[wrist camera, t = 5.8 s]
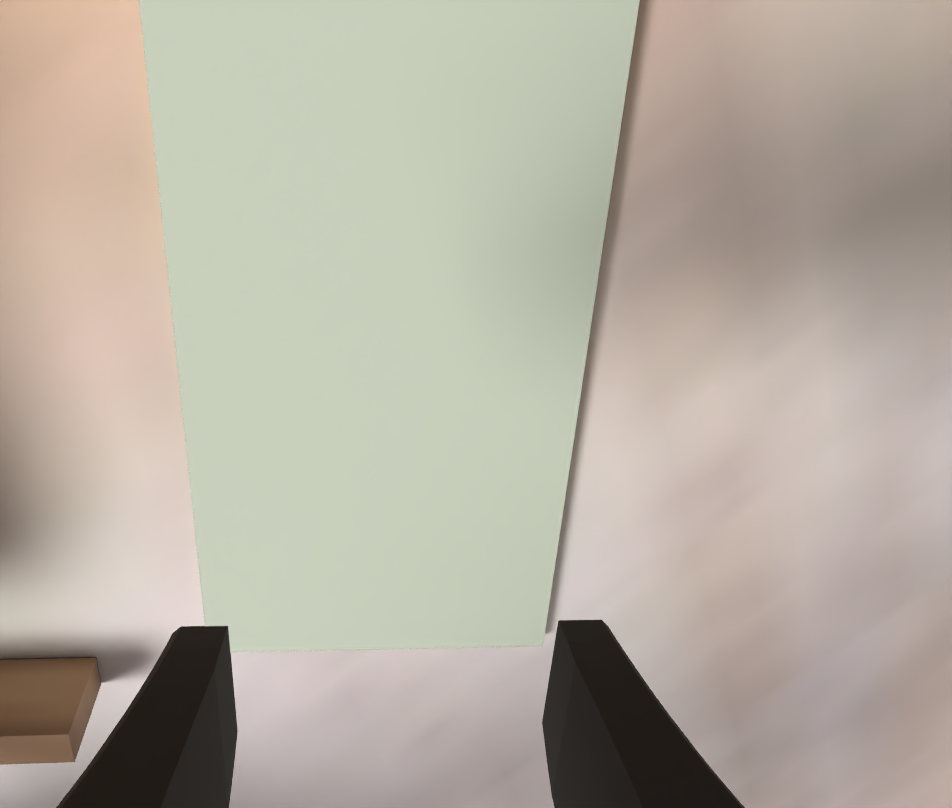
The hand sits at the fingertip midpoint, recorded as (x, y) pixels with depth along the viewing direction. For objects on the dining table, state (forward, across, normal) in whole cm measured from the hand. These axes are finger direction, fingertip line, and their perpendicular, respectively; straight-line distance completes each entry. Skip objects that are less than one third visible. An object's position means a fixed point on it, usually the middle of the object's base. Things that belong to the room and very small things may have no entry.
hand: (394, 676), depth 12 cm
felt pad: (+9, 0, 0) cm, 9 cm away
